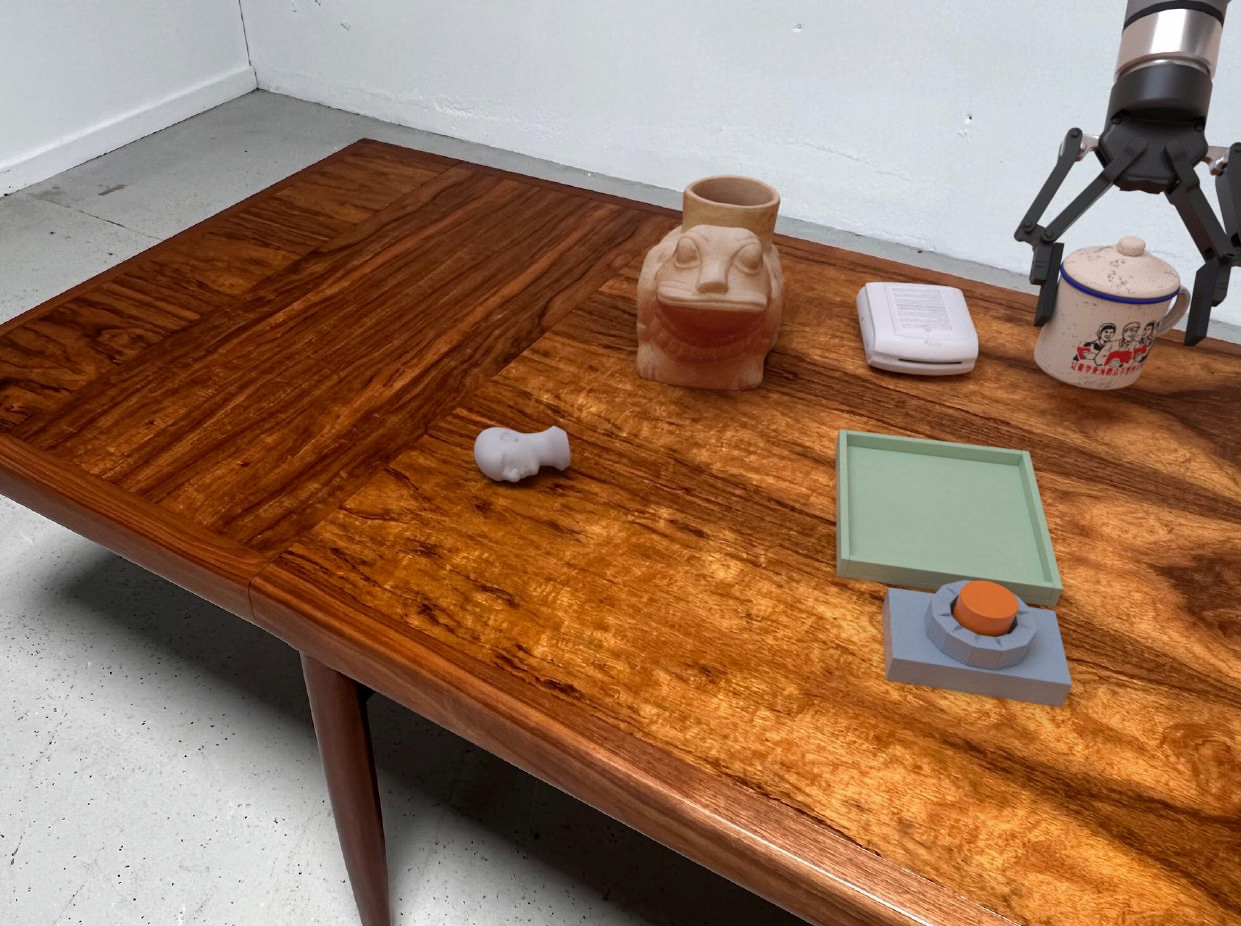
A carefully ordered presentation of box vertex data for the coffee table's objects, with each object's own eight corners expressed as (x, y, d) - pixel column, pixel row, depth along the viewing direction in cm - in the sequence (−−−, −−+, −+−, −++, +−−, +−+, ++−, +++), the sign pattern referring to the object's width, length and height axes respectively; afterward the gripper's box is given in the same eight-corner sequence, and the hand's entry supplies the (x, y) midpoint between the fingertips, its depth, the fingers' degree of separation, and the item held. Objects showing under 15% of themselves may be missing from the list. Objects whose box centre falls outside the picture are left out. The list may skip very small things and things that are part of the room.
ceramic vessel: (615, 405, 97) (626, 249, 87) (651, 277, 116) (662, 137, 107) (771, 423, 94) (800, 264, 85) (780, 289, 114) (805, 147, 104)
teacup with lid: (1065, 398, 90) (1114, 269, 83) (1009, 344, 97) (1050, 220, 89) (1195, 385, 92) (1255, 257, 84) (1131, 333, 98) (1182, 210, 91)
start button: (1007, 603, 72) (1015, 584, 70) (1014, 641, 69) (1022, 621, 68) (951, 595, 72) (957, 576, 71) (955, 632, 69) (963, 613, 68)
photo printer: (850, 316, 109) (864, 380, 100) (859, 277, 107) (873, 339, 97) (955, 322, 108) (978, 388, 99) (966, 283, 106) (991, 347, 96)
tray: (1022, 468, 89) (1029, 451, 88) (1055, 607, 76) (1063, 588, 75) (835, 446, 92) (839, 428, 91) (836, 576, 79) (841, 558, 78)
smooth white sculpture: (472, 494, 89) (478, 445, 91) (569, 498, 88) (572, 448, 91) (468, 463, 85) (474, 413, 88) (568, 467, 84) (572, 416, 87)
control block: (1045, 633, 74) (1064, 590, 72) (1061, 708, 69) (1082, 665, 67) (881, 609, 76) (894, 567, 74) (885, 680, 71) (899, 637, 69)
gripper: (1295, 118, 92) (1253, 364, 91) (1005, 94, 98) (961, 325, 96) (1342, 70, 85) (1296, 337, 83) (1025, 48, 90) (978, 297, 89)
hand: (1117, 331), depth 90 cm, fingers closed on teacup with lid, 11 cm apart
